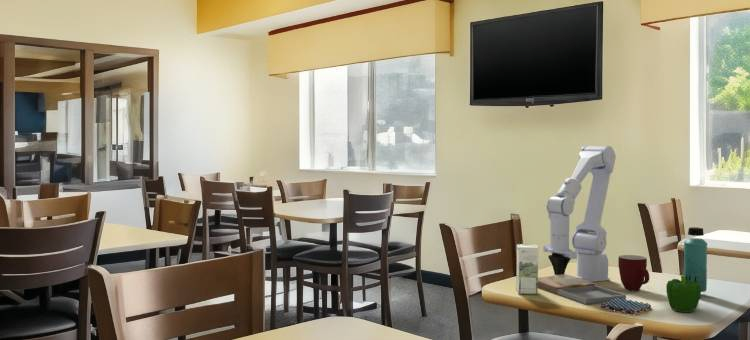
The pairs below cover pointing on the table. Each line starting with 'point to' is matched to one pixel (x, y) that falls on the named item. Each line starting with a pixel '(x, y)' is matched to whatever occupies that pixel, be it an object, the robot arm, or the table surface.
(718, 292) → the table surface
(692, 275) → the beverage bottle
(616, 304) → the woven mat
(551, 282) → the brown square board
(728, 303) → the table surface
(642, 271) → the mug
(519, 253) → the syrup box
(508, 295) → the table surface
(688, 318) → the table surface
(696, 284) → the bell pepper
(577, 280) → the tile
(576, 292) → the tray
